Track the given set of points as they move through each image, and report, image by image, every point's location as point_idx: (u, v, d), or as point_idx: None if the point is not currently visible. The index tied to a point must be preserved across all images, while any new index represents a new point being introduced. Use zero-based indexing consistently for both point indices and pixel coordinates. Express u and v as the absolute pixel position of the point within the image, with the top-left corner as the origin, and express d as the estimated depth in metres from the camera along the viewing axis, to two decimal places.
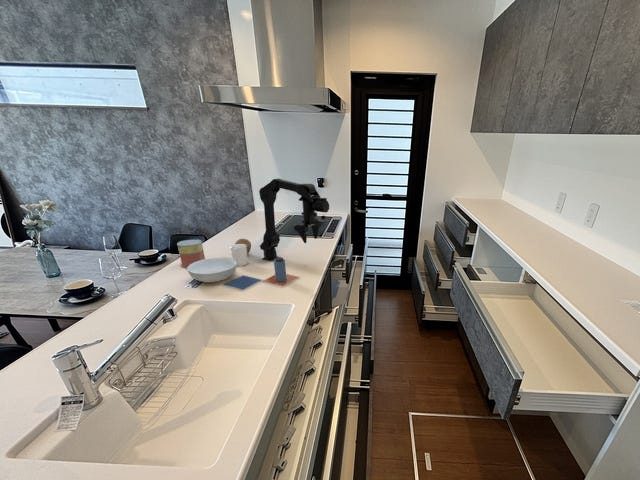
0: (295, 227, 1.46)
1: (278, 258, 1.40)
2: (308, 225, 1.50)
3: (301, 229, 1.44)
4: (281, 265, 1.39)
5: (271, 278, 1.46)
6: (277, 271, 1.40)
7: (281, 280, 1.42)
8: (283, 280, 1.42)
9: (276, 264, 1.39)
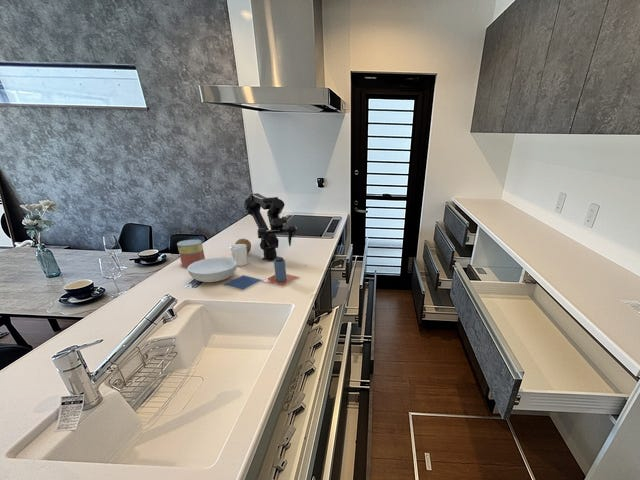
0: None
1: (278, 258, 1.40)
2: (271, 230, 1.50)
3: (258, 232, 1.46)
4: (281, 265, 1.39)
5: (271, 278, 1.46)
6: (277, 271, 1.40)
7: (281, 280, 1.42)
8: (283, 280, 1.42)
9: (276, 264, 1.39)
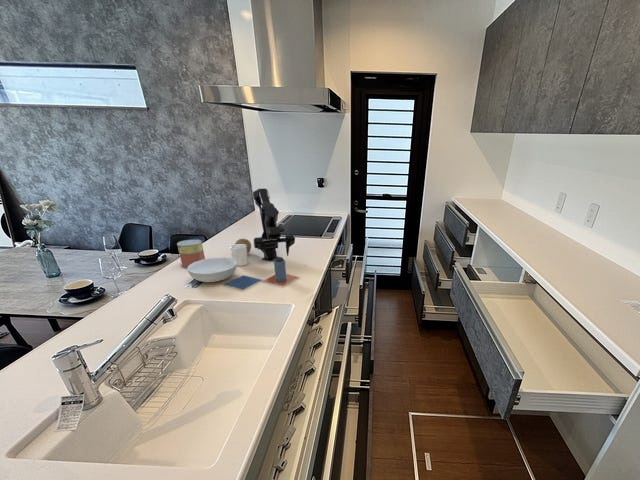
0: (254, 244, 1.43)
1: (278, 258, 1.40)
2: (268, 239, 1.43)
3: (254, 241, 1.40)
4: (281, 265, 1.39)
5: (271, 278, 1.46)
6: (277, 271, 1.40)
7: (281, 280, 1.42)
8: (283, 280, 1.42)
9: (276, 264, 1.39)
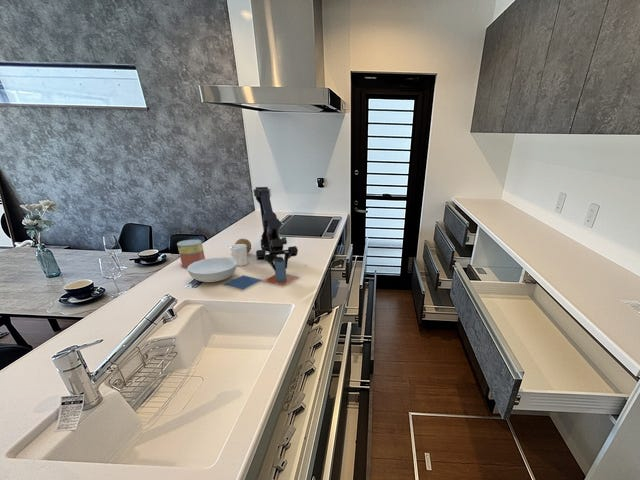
0: (256, 256, 1.41)
1: (278, 258, 1.40)
2: (275, 251, 1.42)
3: (256, 254, 1.38)
4: (281, 265, 1.39)
5: (271, 278, 1.46)
6: (277, 271, 1.40)
7: (281, 280, 1.42)
8: (283, 280, 1.42)
9: (276, 264, 1.39)
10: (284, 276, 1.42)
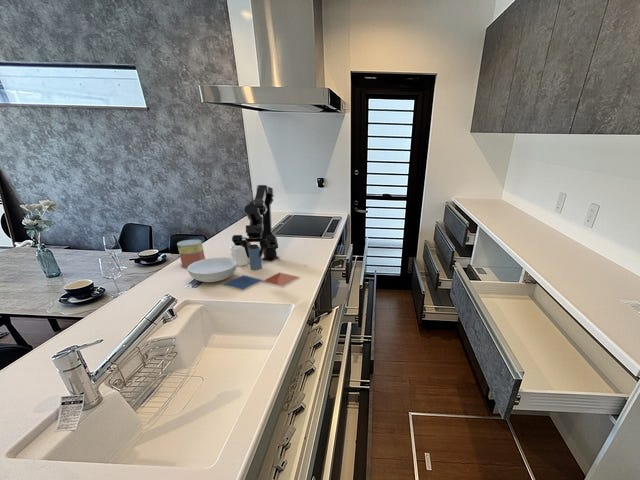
0: None
1: (252, 245, 1.34)
2: (252, 238, 1.37)
3: None
4: (253, 252, 1.33)
5: (271, 278, 1.46)
6: (250, 258, 1.35)
7: (254, 268, 1.36)
8: (257, 268, 1.36)
9: (249, 251, 1.33)
10: (257, 265, 1.36)
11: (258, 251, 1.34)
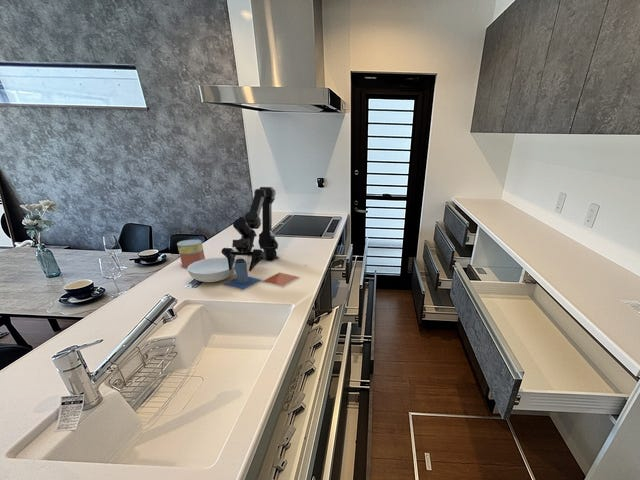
0: None
1: (239, 259, 1.37)
2: None
3: None
4: (238, 266, 1.35)
5: (271, 278, 1.46)
6: (236, 272, 1.37)
7: (239, 282, 1.38)
8: (242, 282, 1.39)
9: (235, 265, 1.36)
10: (243, 279, 1.38)
11: (243, 266, 1.36)
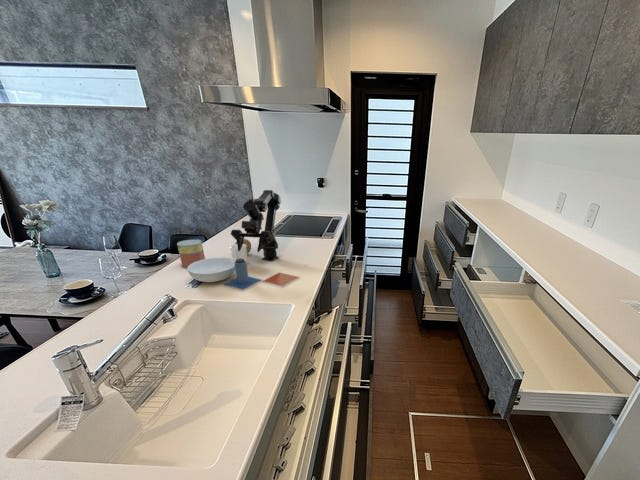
0: None
1: (239, 259, 1.37)
2: (245, 233, 1.45)
3: None
4: (238, 266, 1.35)
5: (271, 278, 1.46)
6: (236, 272, 1.37)
7: (239, 282, 1.38)
8: (242, 282, 1.39)
9: (235, 265, 1.36)
10: (243, 279, 1.38)
11: (243, 266, 1.36)
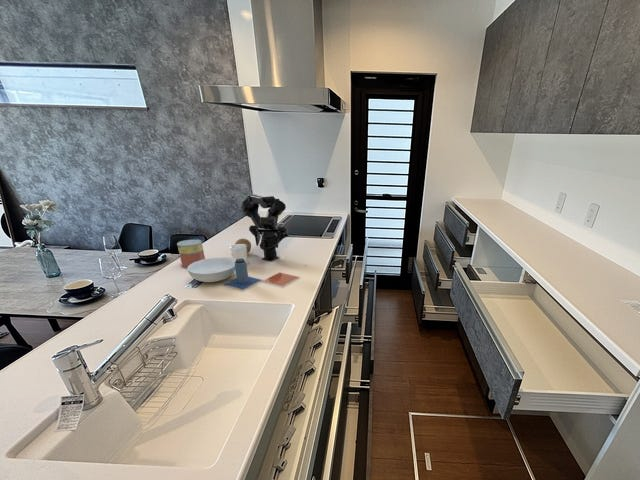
0: None
1: (239, 259, 1.37)
2: (262, 229, 1.52)
3: None
4: (238, 266, 1.35)
5: (271, 278, 1.46)
6: (236, 272, 1.37)
7: (239, 282, 1.38)
8: (242, 282, 1.39)
9: (235, 265, 1.36)
10: (243, 279, 1.38)
11: (243, 266, 1.36)
